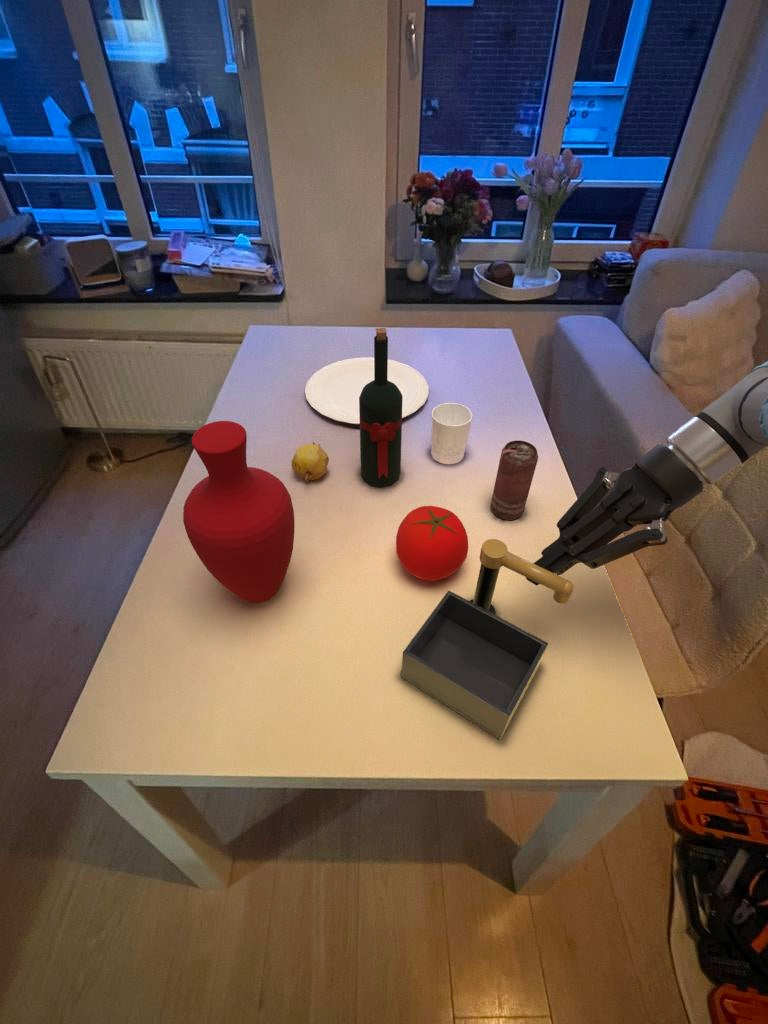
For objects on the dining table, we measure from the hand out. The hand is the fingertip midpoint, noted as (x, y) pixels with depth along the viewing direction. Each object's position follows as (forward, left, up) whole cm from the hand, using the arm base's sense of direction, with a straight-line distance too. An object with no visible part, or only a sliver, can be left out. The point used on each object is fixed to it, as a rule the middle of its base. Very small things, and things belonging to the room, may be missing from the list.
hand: (529, 578), depth 72 cm
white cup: (+30, +29, -12) cm, 43 cm away
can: (+22, +12, -11) cm, 28 cm away
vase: (-17, +37, -11) cm, 42 cm away
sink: (-11, +2, -11) cm, 16 cm away
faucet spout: (-1, +1, +1) cm, 2 cm away
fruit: (+9, +48, -11) cm, 50 cm away
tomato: (+3, +17, -12) cm, 21 cm away
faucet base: (-1, +5, -11) cm, 13 cm away
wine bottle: (+16, +36, -11) cm, 41 cm away
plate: (+39, +56, -11) cm, 69 cm away
